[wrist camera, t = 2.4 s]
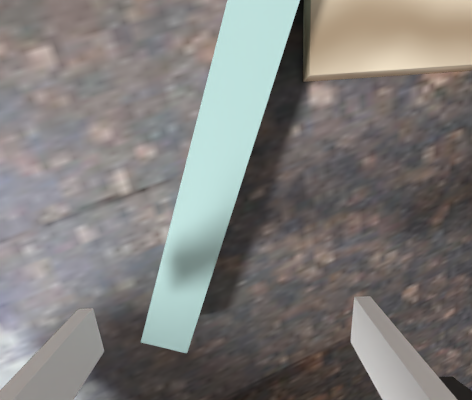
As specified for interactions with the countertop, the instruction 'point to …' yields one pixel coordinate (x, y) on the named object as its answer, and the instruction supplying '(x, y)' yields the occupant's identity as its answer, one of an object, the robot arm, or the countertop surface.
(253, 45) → the beam
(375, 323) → the robot arm
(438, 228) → the countertop surface
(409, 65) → the balance stand
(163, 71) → the countertop surface
